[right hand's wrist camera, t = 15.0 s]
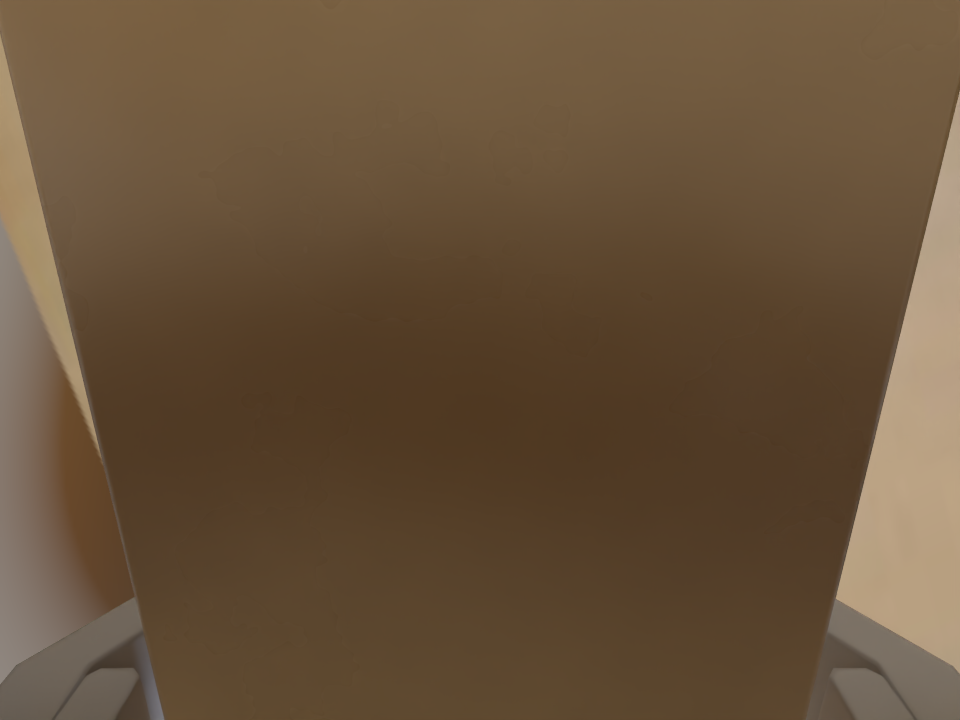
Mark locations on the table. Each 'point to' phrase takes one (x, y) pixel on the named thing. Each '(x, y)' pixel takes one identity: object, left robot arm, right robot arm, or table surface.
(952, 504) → the table surface
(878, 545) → the table surface
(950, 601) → the table surface
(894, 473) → the table surface
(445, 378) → the bar
